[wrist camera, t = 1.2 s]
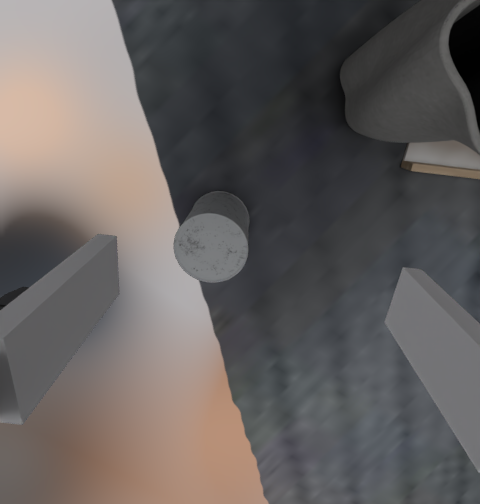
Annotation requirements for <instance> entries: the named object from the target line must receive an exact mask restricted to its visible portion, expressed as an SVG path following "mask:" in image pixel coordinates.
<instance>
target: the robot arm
mask: <svg viewBox="0 0 480 504" xmlns="http://www.w3.org/2000/svg"><path fill="white" fill-rule="evenodd" d="M118 295H119V277H118V256H117V237H116V236H112V235H102V234H97V235H96V236H95V237H94V238H92V239H91V240H90V241H88V242H87V243H86V244H85V245H83V246H82V247H81V248H79V249H78V250H77V251H76V252H74V253H73V254H72V255H71V256H69V257H68V258H67V259H65V260H64V261H63V262H62V263H60V264H59V265H58V266H57V267H56V268H54V269H53V270H51V271H50V272H49V273H48V274H46V275H45V276H44V277H42V278H41V279H40V280H39V281H37V282H36V283H35V284H33V285H32V286H31V287H30V288H28V287H22V288H19V289H17V290H14V291H12V292H10V293H8V294H5V295H4V296H2V297H1V298H0V422H3V423H12V424H24V422H25V421H26V420H27V418H28V417H29V415H30V414H31V413H32V411H33V410H34V409H35V407H36V406H37V405H38V403H39V402H40V401H41V399H42V398H43V397H44V395H45V394H46V392H47V391H48V390H49V388H50V387H51V386H52V384H53V383H54V382H55V380H56V379H57V378H58V376H59V375H60V374H61V372H62V371H63V369H64V368H65V367H66V365H67V364H68V362H69V361H70V360H71V359H72V357H73V356H74V355H75V353H76V352H77V351H78V349H79V348H80V346H81V345H82V344H83V342H84V341H85V340H86V338H87V337H88V336H89V334H90V333H91V332H92V330H93V329H94V328H95V326H96V325H97V323H98V322H99V321H100V319H101V318H102V317H103V315H104V314H105V313H106V311H107V310H108V309H109V307H110V306H111V304H112V303H113V302H114V300H115V299H116V298H117V296H118ZM385 324H386V325H387V327H388V329H389V330H390V332H391V333H392V335H393V337H394V338H395V340H396V341H397V343H398V345H399V346H400V348H401V349H402V351H403V353H404V354H405V356H406V357H407V359H408V361H409V362H410V364H411V365H412V367H413V369H414V370H415V372H416V373H417V375H418V377H419V378H420V380H421V381H422V383H423V385H424V386H425V388H426V389H427V391H428V393H429V394H430V396H431V397H432V399H433V401H434V402H435V404H436V405H437V407H438V408H439V410H440V412H441V413H442V415H443V416H444V418H445V420H446V421H447V423H448V424H449V426H450V428H451V429H452V431H453V432H454V434H455V436H456V437H457V439H458V440H459V442H460V444H461V445H462V447H463V448H464V450H465V452H466V453H467V455H468V456H469V458H470V460H471V461H472V463H473V464H474V466H475V468H476V469H477V471H478V472H479V473H480V324H479V323H478V322H477V321H476V320H475V319H474V318H473V317H472V316H471V315H470V314H469V313H468V312H467V311H465V310H464V309H463V308H462V307H461V306H460V305H459V304H458V303H457V302H456V301H455V300H454V299H453V298H452V297H450V296H449V295H448V294H447V293H446V292H445V291H444V290H443V289H442V288H441V287H440V286H439V285H438V284H437V283H435V282H434V281H433V280H432V279H431V278H430V277H429V276H428V275H427V274H426V273H425V272H424V271H423V270H421V269H414V268H405V267H403V269H402V272H401V275H400V278H399V281H398V284H397V287H396V290H395V293H394V296H393V299H392V302H391V305H390V308H389V311H388V314H387V317H386V320H385Z"/></svg>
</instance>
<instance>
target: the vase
mask: <svg viewBox="0 0 480 504" xmlns="http://www.w3.org/2000/svg"><path fill="white" fill-rule="evenodd" d="M340 81H341V85H342V88H343V90H344V93H345V99H346V101H345V117H346V121H347V123H348V125H349V126H350V127H351V128H352V129H353V130H354V131H355V132H357V133H359V134H361V135H364V136H366V137H369V138H372V139H376V140H381V141H387V142H400V143H421V142H439V141H451V140H455V141H458V142H460V143H462V144H464V145H466V146H468V147H469V148H471V149H472V150H473V151H475V152H476V153H477V154H479V155H480V0H421V1H419V2H418V3H416V4H415V5H414V6H412V7H411V8H409V9H408V10H407V11H405V12H404V13H402V14H401V15H400V16H398V17H397V18H396V19H394V20H393V21H392V22H390V23H389V24H388V25H387V26H386V27H384V28H383V29H382V30H381V31H379V32H378V33H377V34H375V35H374V36H373V37H372V38H370V39H369V40H368V41H367V42H366V43H365V44H363V45H362V46H361V47H360V48H359V49H357V50H356V51H355V52H354V53H353V54H351V55H350V56H349V57H348V58H347V59H346V60H345V61H344V63H343V65H342V67H341V70H340Z"/></svg>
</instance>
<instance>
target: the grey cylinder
mask: <svg viewBox="0 0 480 504" xmlns="http://www.w3.org/2000/svg"><path fill="white" fill-rule="evenodd" d="M248 228H249V213H248V211H247V208H246V206H245V205H244V203H243V202H242V201H241V200H240V199H239V198H238V197H236V196H234V195H233V194H231V193H228V192H223V191H215V192H210V193H207V194H205V195H203V196H202V197H201V198H199V199H198V200H197V202H196V203H195V204H194V206H193V208H192V210H191V212H190V213H189V215H188V216H187V218H186V219H185V221H184V223H183V224H182V225H181V226H180V227H179V229H178V231H177V233H176V235H175V239H174V253H175V257H176V259H177V261H178V263H179V265H180V266H181V267H182V269H183V270H184V271H185V272H186V273H187V274H189V275H190V276H192V277H193V278H195V279H197V280H201V281H204V282H212V283H214V282H222V281H225V280H228V279H230V278H232V277H233V276H235V275H236V274H237V273H238V272H239V271H240V270H241V269H242V268H243V266H244V265H245V263H246V260H247V257H248Z"/></svg>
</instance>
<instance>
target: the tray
mask: <svg viewBox="0 0 480 504" xmlns="http://www.w3.org/2000/svg"><path fill="white" fill-rule="evenodd" d="M401 167H402V168H404V169H407V170H410V171H416V172H425V173H433V174H442V175H450V176H458V177H467V178H475V179H480V155H479V154H477V153H476V152H475V151H473V150H472V149H471V148H469V147H468V146H466V145H464V144H462V143H460V142H458V141H455V140H451V141H439V142H421V143H407V147H406V150H405V153H404V157H403V160H402V163H401Z"/></svg>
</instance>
